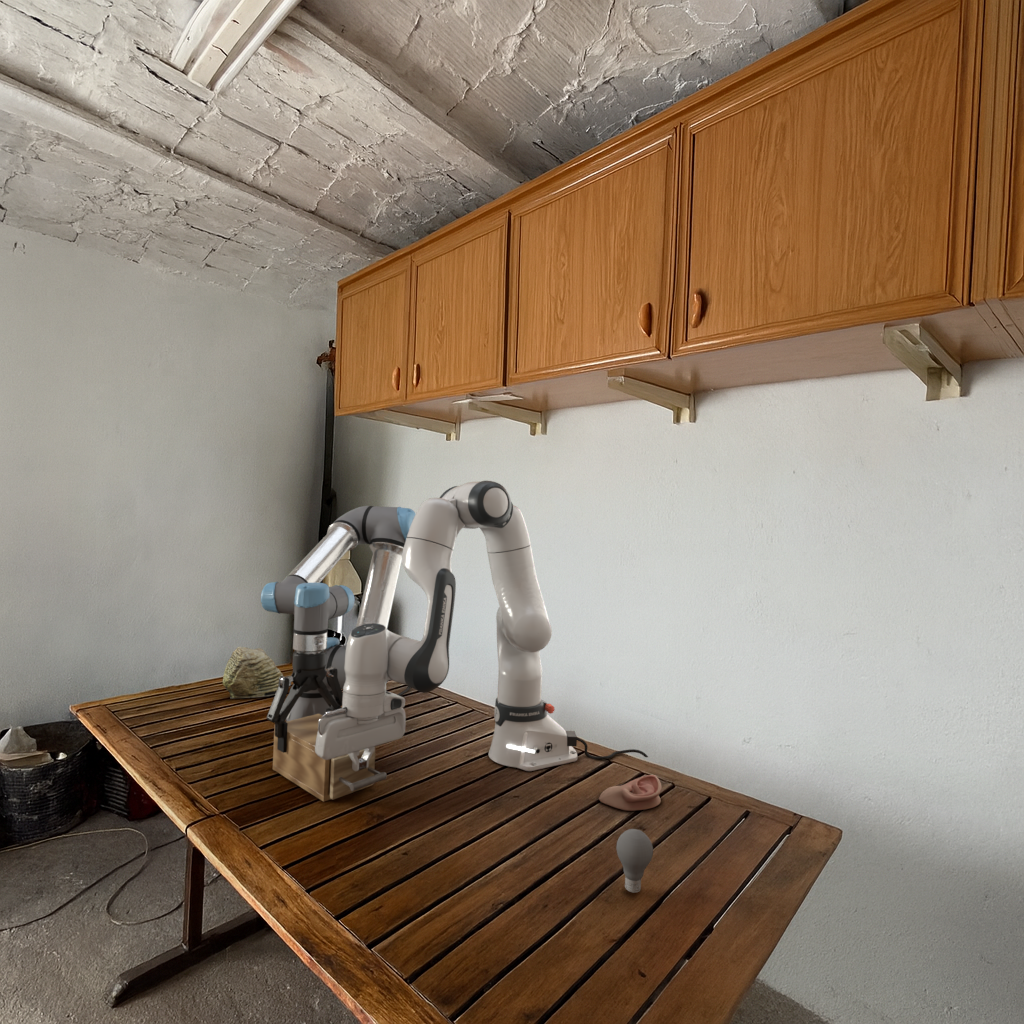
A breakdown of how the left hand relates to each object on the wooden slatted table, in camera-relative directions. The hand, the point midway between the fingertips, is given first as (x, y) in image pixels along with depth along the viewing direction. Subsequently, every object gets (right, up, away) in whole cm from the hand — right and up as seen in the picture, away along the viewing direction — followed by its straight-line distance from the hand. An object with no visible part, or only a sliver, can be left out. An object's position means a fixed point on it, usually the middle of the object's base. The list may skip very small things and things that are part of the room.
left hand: (306, 743), depth 147 cm
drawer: (+9, -5, -8) cm, 13 cm away
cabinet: (+4, -6, -4) cm, 8 cm away
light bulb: (+68, -10, -41) cm, 80 cm away
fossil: (-33, -3, +51) cm, 61 cm away
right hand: (+16, 0, -15) cm, 22 cm away
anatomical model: (+74, -9, -8) cm, 75 cm away
